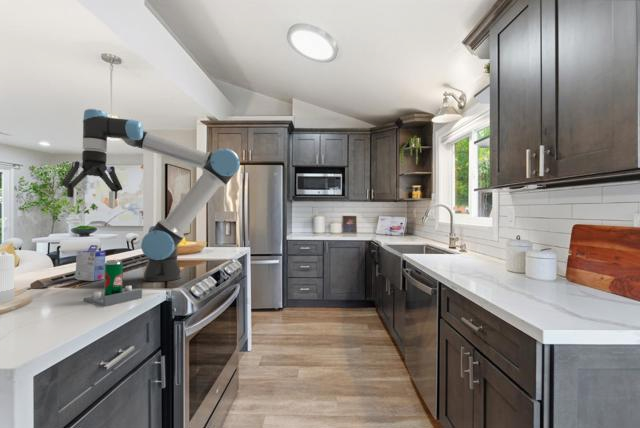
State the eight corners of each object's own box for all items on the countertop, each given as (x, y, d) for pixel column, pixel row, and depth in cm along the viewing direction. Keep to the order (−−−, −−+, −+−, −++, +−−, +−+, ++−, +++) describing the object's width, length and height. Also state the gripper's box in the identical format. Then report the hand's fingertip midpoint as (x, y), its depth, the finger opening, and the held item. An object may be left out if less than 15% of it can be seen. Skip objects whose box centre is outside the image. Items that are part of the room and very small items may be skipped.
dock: (120, 293, 115) (120, 283, 115) (141, 298, 110) (142, 287, 110) (83, 300, 105) (83, 290, 105) (104, 306, 99) (105, 295, 99)
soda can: (116, 298, 105) (116, 261, 105) (100, 298, 105) (101, 261, 105) (125, 294, 110) (126, 259, 110) (110, 294, 110) (111, 259, 110)
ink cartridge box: (105, 279, 138) (106, 245, 138) (94, 281, 133) (95, 246, 133) (86, 277, 140) (87, 244, 140) (74, 280, 135) (75, 245, 135)
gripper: (121, 157, 135) (120, 207, 135) (50, 145, 113) (48, 205, 113) (132, 156, 132) (131, 208, 132) (61, 143, 109) (59, 206, 109)
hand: (93, 207), depth 122 cm, fingers open, 13 cm apart
